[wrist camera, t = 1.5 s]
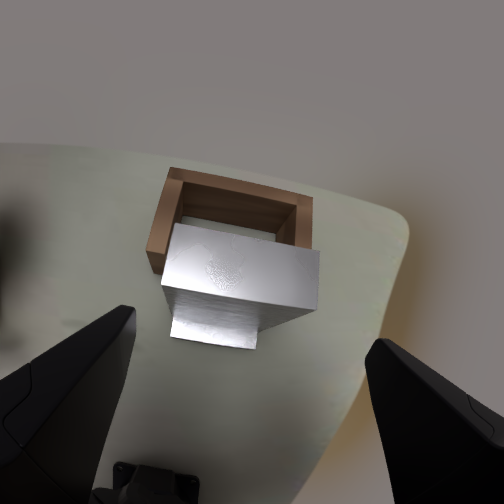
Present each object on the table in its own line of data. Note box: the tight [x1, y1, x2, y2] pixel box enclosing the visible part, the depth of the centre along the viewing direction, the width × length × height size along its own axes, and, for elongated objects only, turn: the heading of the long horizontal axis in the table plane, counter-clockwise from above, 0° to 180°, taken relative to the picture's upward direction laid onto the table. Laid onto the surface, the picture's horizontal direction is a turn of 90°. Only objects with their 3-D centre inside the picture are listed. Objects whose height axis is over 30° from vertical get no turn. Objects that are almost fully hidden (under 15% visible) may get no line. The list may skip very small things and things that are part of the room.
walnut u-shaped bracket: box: [146, 167, 313, 275], centre depth 21 cm, size 6×10×5 cm, turn 83°
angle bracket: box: [161, 223, 320, 350], centre depth 16 cm, size 5×6×11 cm
